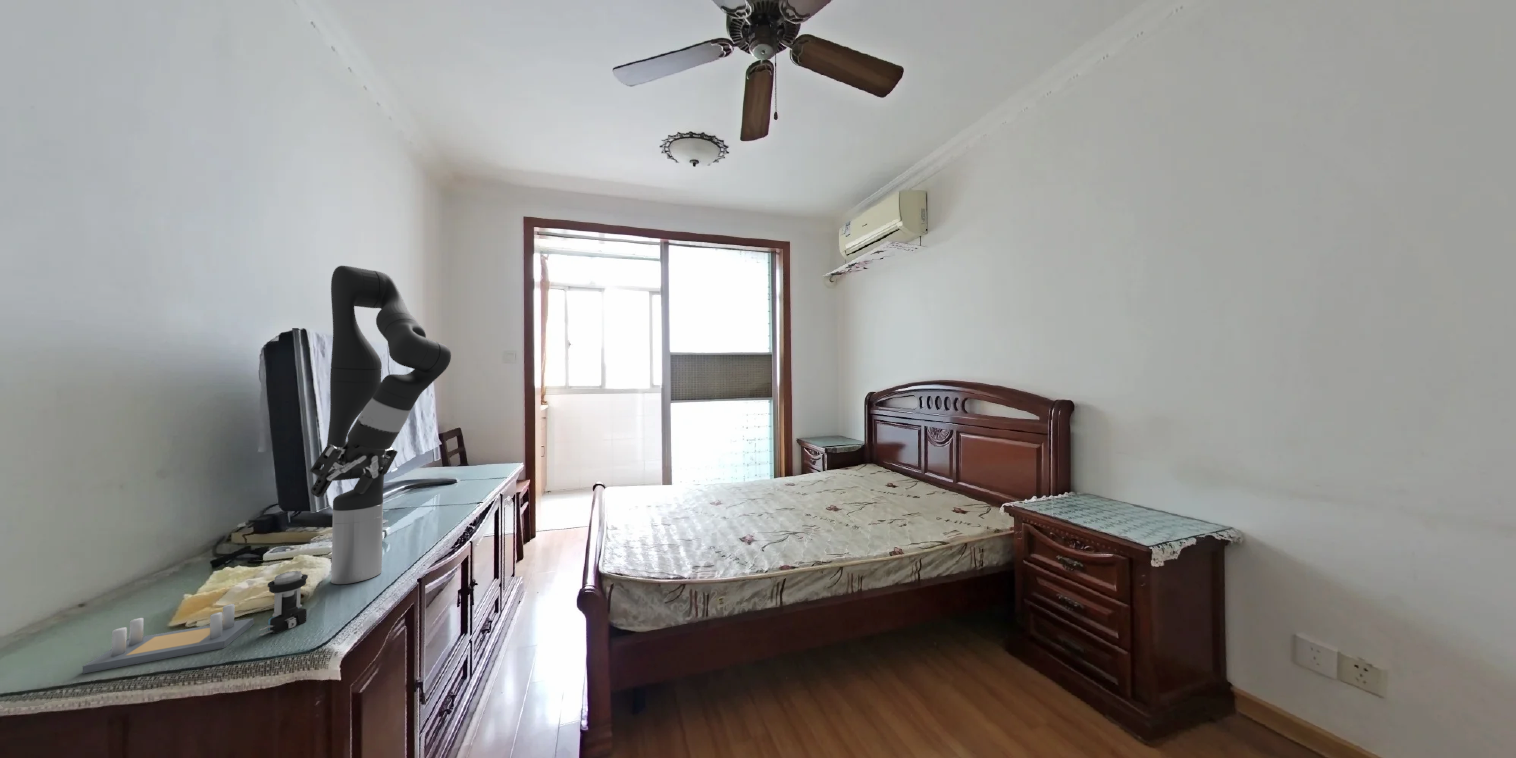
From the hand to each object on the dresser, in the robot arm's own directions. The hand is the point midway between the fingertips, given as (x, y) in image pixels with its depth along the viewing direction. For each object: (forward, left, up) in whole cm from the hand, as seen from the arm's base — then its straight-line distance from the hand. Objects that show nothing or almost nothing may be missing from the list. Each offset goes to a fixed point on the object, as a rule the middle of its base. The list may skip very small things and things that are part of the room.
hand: (338, 493), depth 92 cm
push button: (+4, -7, -24) cm, 26 cm away
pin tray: (+3, -21, -24) cm, 32 cm away
